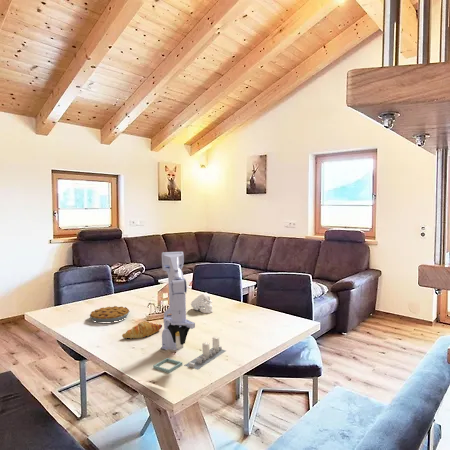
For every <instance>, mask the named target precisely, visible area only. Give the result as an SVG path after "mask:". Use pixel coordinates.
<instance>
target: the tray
mask: <svg viewBox="0 0 450 450" xmlns="http://www.w3.org/2000/svg"><path fill="white" fill-rule="evenodd" d="M166 362H168V363H173V364H175V365H174V366H173V367H170V368H165V367H162V366H161V365H163V364H165V363H166ZM181 366H183V362H182V361H180V360H179V361H178V360H175V359H173V358H172V359H171V358H169V357H167V358H164V359H162V360H161V361H159V362H157V363H155V364H153V367H152V368H153V369H154V370H158V371H161V372H164V373H168V374H170V373H171V372H173V371H174V370H176V369H178V368H180V367H181Z"/></svg>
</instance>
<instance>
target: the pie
mask: <svg viewBox="0 0 450 450" xmlns="http://www.w3.org/2000/svg"><path fill="white" fill-rule="evenodd" d="M129 313H130V309H129V308H127V307H126V306H125V307H123V306H116V305H114V306H107V307H100V308H98V309H94V310H93V311H91V312H90V314H89V317H90V318H91V320H92V321H96V322H114V321H119V320H122V319H124V318H127V317H128V315H129ZM124 320H125V319H124ZM122 321H123V320H122ZM96 322H95V323H96ZM119 322H120V321H119Z"/></svg>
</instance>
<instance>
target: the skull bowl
mask: <svg viewBox="0 0 450 450" xmlns="http://www.w3.org/2000/svg"><path fill="white" fill-rule="evenodd" d="M212 303H213V301H212V299H211V297H210V295H209V294H208V292H203V293H201V294H200V295H198V296H197V297H196V298H194V299H193V300H192V301H191V303H190V305H191V308H193V310H195V311H200V312H201V313H205V314H211V313H213V312H214V311H213V305H212Z"/></svg>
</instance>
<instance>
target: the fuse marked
mask: <svg viewBox="0 0 450 450" xmlns="http://www.w3.org/2000/svg"><path fill="white" fill-rule="evenodd" d="M175 335H176V348H177V349H178V350H182V349H183V348H184V344H183V345H181V344H180V334H179V332H176V333H175Z"/></svg>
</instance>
